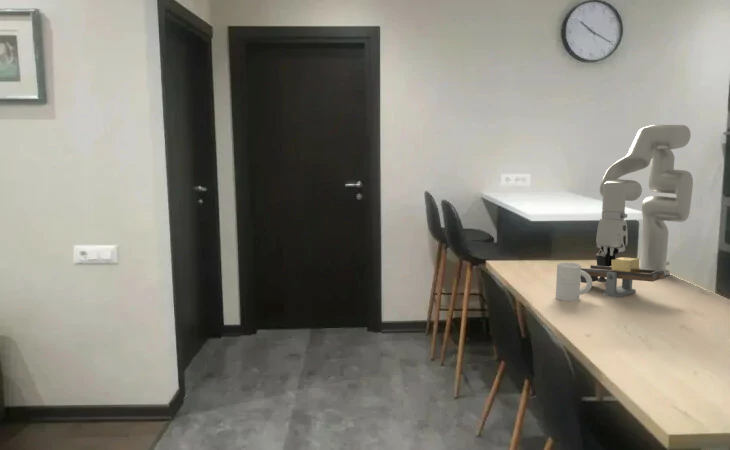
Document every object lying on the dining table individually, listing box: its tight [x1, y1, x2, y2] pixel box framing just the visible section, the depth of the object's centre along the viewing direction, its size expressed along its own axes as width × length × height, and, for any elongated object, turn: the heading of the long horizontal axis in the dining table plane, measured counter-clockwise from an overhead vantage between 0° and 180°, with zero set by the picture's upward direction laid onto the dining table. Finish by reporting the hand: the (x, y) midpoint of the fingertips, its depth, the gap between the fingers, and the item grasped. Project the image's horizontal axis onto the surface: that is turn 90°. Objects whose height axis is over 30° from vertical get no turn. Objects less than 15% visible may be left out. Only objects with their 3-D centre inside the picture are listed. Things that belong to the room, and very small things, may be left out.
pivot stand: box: [601, 271, 637, 299], centre depth 224 cm, size 12×6×8 cm, turn 128°
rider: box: [611, 256, 640, 273], centre depth 221 cm, size 6×7×5 cm
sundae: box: [594, 248, 610, 283], centre depth 242 cm, size 7×7×15 cm
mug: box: [555, 262, 593, 302], centre depth 217 cm, size 8×12×12 cm
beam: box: [580, 264, 665, 284], centre depth 223 cm, size 8×28×6 cm, turn 38°
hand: (609, 265), depth 226 cm, fingers closed
